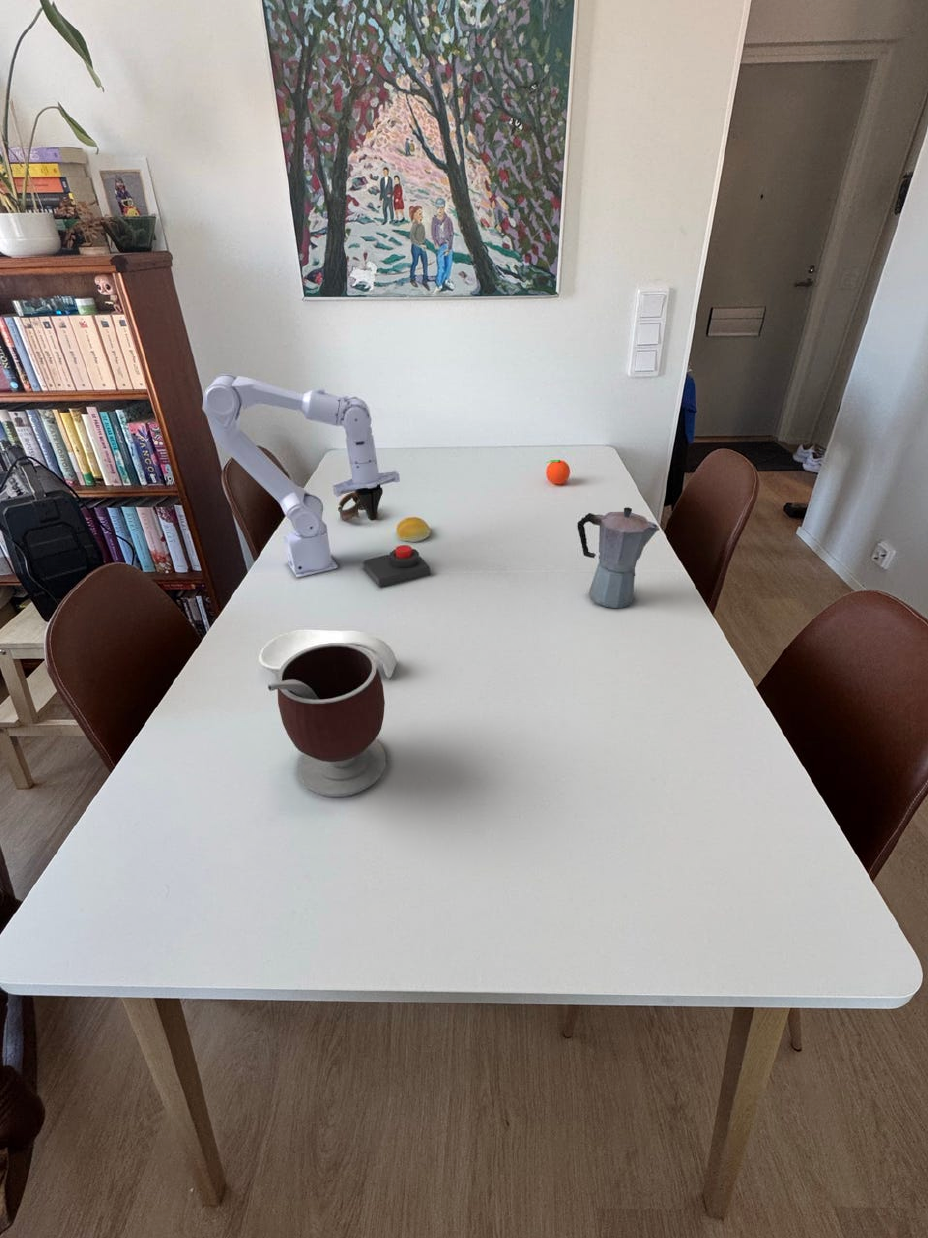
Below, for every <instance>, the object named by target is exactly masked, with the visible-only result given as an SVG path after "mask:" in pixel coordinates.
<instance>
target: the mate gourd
mask: <svg viewBox="0 0 928 1238" xmlns="http://www.w3.org/2000/svg"><path fill="white" fill-rule="evenodd" d="M381 677H382V676H381V673H380V671H379V668H378V666H377V661H376V659H375V657H374V656H373V654H372V653H370V651H369V650H368V649H367V650H366V648H363V647H360V646H356V645H352V644H345V643H328V644H321V645H317V646H313V647H310V648H307V649H304V650H302V651H300V652H298V653H296V654H295V655H293V656H292V657H290V658H289V659H288V660H287V661H286V662H285V663H284V664H283V665H282V667H281V668H280V670H279V673H278V674H277V678H276V679H277V680H276V682H274V683H273V682H272V683H269V684H267V689H268V691H270V692H274V691H275V690H277V705H278V709H279V714H280V718H281V722H282V725H283V727H284V730H285V732H286V735H287V736H288V737H289V739H290V740H291V742H292V744H293V745H294V747H295V749H297V750H298V751H299V752H300V753H302V754H303V755H302V758H301V760H300V762H299V775H300V777H301V781H302V782H303V784H304V786H305V787H306V788H307V789H308V790H309V791H311V792H313V793H315V794H317V795H320V796H323V797H328V798H342V797H350V796H352V795H356V794H358V793H361V792H363V791H365V790H367V789H368V788H369V787H371V786H372V785H373V784H375V783H376V782H377V781H378V780H379V778H380V777H381V775H382V774H383V772H384V770H385V767H386V761H387V760H386V754H385V750H384V747H383V746H382V744H381V743H380V742H379V741H378V740H377V737H378V736H379V734H380V733H381V730H382V726H383V722H384V717H385V706H386V704H385V703H386V702H385V701H386V700H385V693H384V684H383V680H382V678H381Z"/></svg>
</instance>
